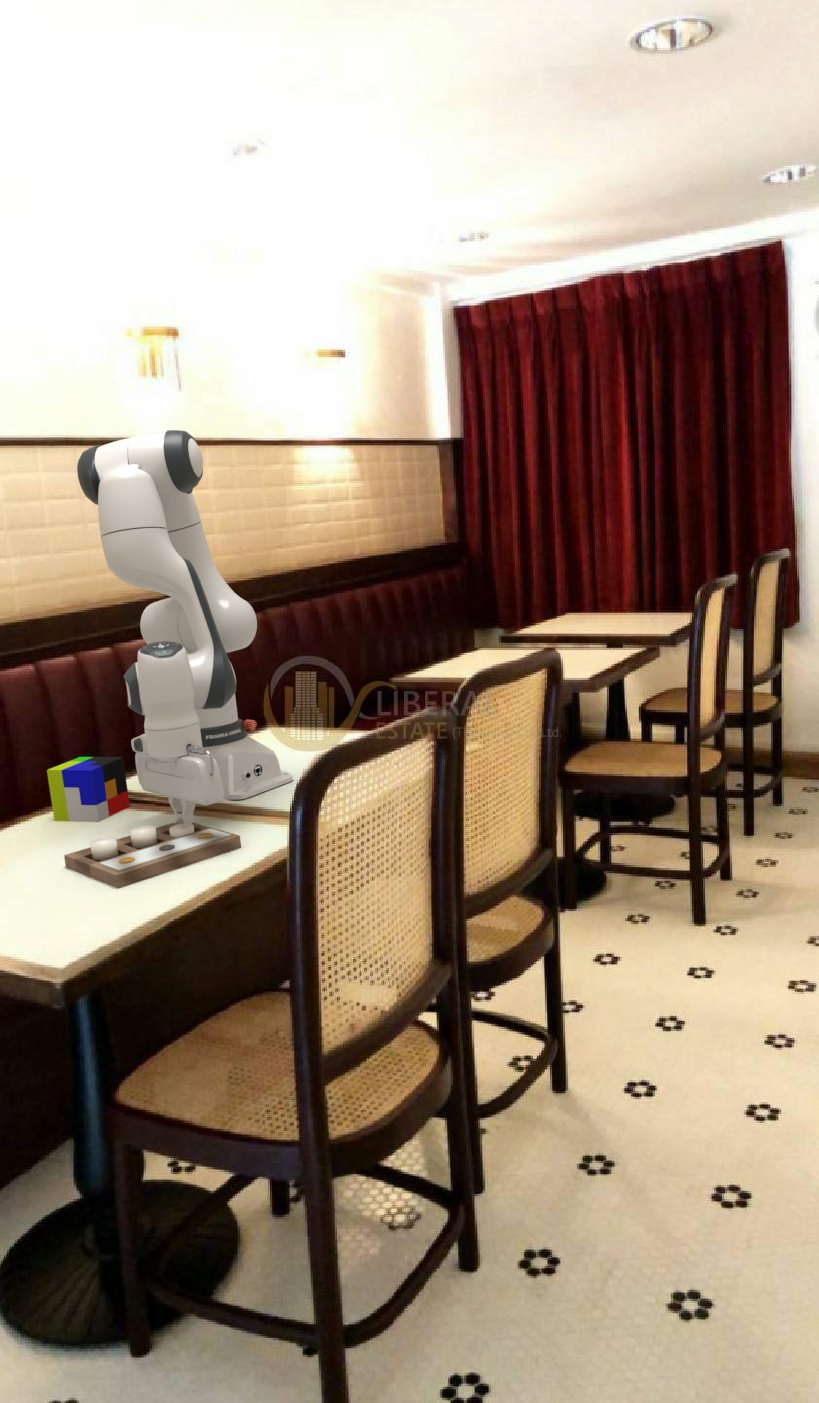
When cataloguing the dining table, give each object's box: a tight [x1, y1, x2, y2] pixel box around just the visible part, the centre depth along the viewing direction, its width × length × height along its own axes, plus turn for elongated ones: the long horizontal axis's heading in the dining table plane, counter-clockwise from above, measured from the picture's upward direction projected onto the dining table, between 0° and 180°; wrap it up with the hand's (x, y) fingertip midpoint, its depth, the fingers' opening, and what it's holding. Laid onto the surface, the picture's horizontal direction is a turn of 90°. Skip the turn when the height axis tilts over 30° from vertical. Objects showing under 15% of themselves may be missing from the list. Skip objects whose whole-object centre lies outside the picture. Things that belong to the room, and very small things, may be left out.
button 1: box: [89, 836, 118, 860], centre depth 171 cm, size 4×4×2 cm
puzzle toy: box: [46, 756, 131, 823], centre depth 208 cm, size 10×10×10 cm
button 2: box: [169, 824, 194, 838], centre depth 181 cm, size 4×4×2 cm
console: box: [63, 821, 242, 889], centre depth 174 cm, size 22×17×4 cm
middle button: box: [129, 825, 157, 848], centre depth 176 cm, size 4×4×2 cm
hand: (185, 822), depth 181 cm, fingers closed
